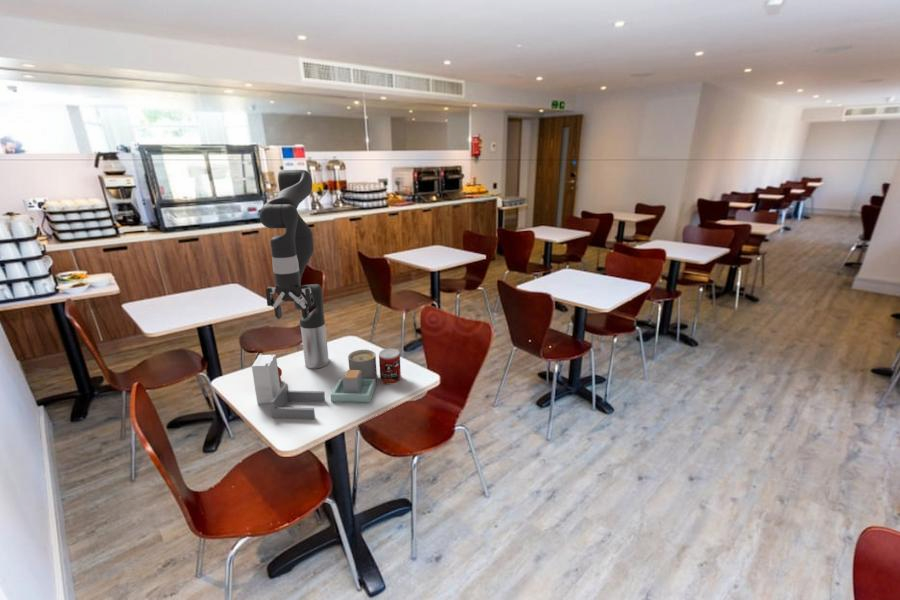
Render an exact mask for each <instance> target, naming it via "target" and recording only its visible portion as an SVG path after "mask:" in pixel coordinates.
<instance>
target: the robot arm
mask: <svg viewBox="0 0 900 600" xmlns="http://www.w3.org/2000/svg"><path fill="white" fill-rule="evenodd" d="M277 183H278V189H279V192H278V193H277V195H276V196H275V198H273V199H271V200H270V201H268V202H266V203H265V204H263V206H262V207H261V209H260V211H259V219H260V223H261V224H262V225H263V226H264V227H265V228H267V229H285V233H284V234H280V235H276V236H273V237H271V239H270V241H269V242H270V249H271V250H270V251H271V256H272V258H271V259H272V261H271V262H272V263H271V264H272V271H273V276H274V284H275V287H273V286H270V285H269V286H268V287H267V288H266V289H265V294H266V304H267V305H266V306H267V307H272V308H273V310H274V316H275V317H276V319H277V320H280V319H282V317H283V313H282V307H281V304H282V302H292V303H293V306H294V308H295V309H296V310H299V311H302V316H301V317H300V318H299V327H300V332H301V333H300V334H301V343H302V349H303V356H304V365H305V367H306V368H307V369H308V368H309V369H320V368H324V367H326V366H327V365H328V364H329V363H330V358H329V349H328V339H327V330H326V320H325V312H324V311H325V310H324V295H323V294H324V293H323V288H322V286H321V284H320V283H319V284H318V283H314V284H313V283H311V284H304V285H301V282H302V277H303V274H304V271H305V269H306V268H307V265H308V263H309V261H310V260H311V258H312V256H313V254H314V249H315V246H314V237H313V232H312V230H311V228H310V226H309V225H308V224H307V222H306V221H305V220H304V219H303V218H302V216H301V215H300V214H299V212H298V207H299V205H300V203H302V202H303V201H304V200H306V199H307V197H308V196H310V194H311V193H312V190H313V181H312V177H311V174H310V172H309V171H308V170H305V169H282V170H280V171H278V175H277ZM275 293H276V294H277V296H278V297H277V298H276V300H275V295H274V294H275ZM310 309H313V310H311V311H309V310H310Z"/></svg>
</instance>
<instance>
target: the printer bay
mask: <svg viewBox="0 0 900 600" xmlns="http://www.w3.org/2000/svg"><path fill="white" fill-rule="evenodd" d="M325 401H326V395H325V391H323V390H322V391H321V390H290V389H289V386H288V383H285V384H283V386H282V387H280V390H279V392H278V393H277V394H276V395H275V397H274V398H273V399H272V400H271V402H270V403H269V404H270V409H271V415H272V416H271V417H272V419H293V420H294V419H297V420H298V419H299V420H314V419H316V413H315V407H293V406H289V407H288V406H286V405H287V404H288V402H310V403H311V402H315V403H316V402H317V403H318V402H319V403H321V402H322V403H323V402H324V403H325Z"/></svg>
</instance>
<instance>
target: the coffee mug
mask: <svg viewBox="0 0 900 600" xmlns="http://www.w3.org/2000/svg"><path fill="white" fill-rule="evenodd" d="M347 358H348V370H360V371H362V379H375V381H377V380H378V372H377V371H378V370H377V359H376V358H377V356H376V352H375V351H374V350H370V349H357V350H354V351H352V352H350V353H349V354H348V357H347Z"/></svg>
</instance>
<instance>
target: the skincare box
mask: <svg viewBox="0 0 900 600" xmlns="http://www.w3.org/2000/svg"><path fill="white" fill-rule="evenodd" d="M277 366H278V362H277V354H259V355H258V356H257V358H256V359H255V360H254V362H253V364H252V365H251V370H252V375H253V377H252V378H253V383H254V391H255V397H256V402H257V404H259V405H260V404H270V402H271V400H272V399H273V398H274V397H275V395H276V394H277V393H278V392H279V390H280V389H281V381H280V382H279V374H278V367H279V366H278V367H277Z"/></svg>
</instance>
